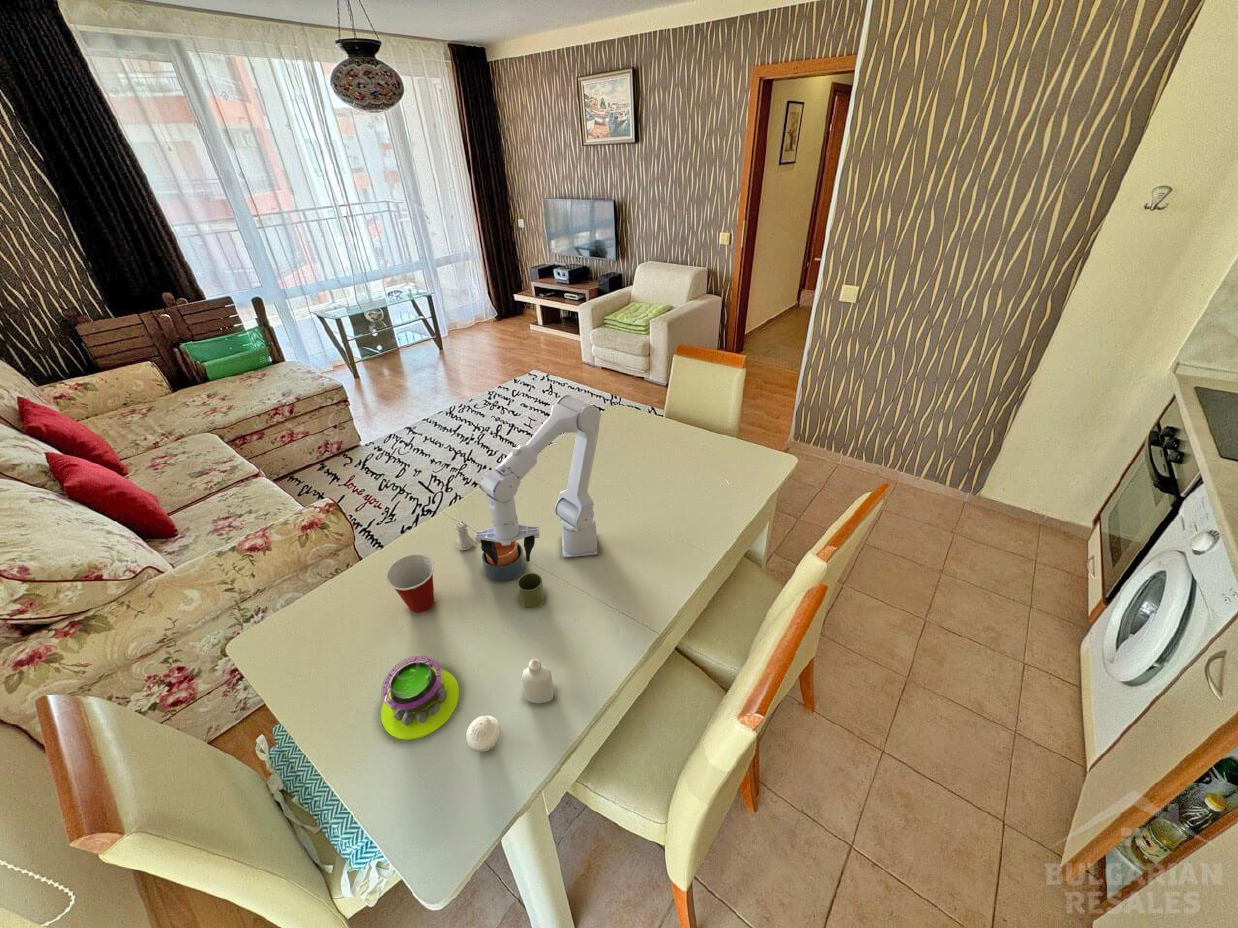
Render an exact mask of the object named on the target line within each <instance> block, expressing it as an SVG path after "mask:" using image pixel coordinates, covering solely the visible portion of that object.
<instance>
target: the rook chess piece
mask: <svg viewBox="0 0 1238 928" xmlns="http://www.w3.org/2000/svg"><path fill="white" fill-rule="evenodd" d="M454 529H455V530H456V533H457V535H458V538H457V541H456V544H457V548H458V549H459V550H461V551H468V550H470V549H472V548H473V546H474V544H475V543H474V540H473V538H472V537H471V536H470V535H469V533H468V524H467V523H466V522H465V521H463V520H460V521H457V523H455V526H454Z"/></svg>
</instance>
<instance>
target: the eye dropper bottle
mask: <svg viewBox="0 0 1238 928" xmlns="http://www.w3.org/2000/svg"><path fill="white" fill-rule="evenodd" d="M521 682H522V686H523V691H524V696H525V697H524V698H525V700H526V701H527V702H530V703H533V704H545V703H549V702H551V701H552V700H553V699H554V695H555V693H554V692H555V690H554V689H555V688H554V682H553V676H552V671H551V669H550V668H548V667H545V666H543V665H542V662H541V661H540V659H538V658H535V657H534V658H532V659H531V660H530V661H529V662H528V665H527V668H525V669H524V670H523V671H522V675H521Z"/></svg>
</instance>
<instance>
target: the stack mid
mask: <svg viewBox="0 0 1238 928" xmlns="http://www.w3.org/2000/svg"><path fill="white" fill-rule="evenodd" d="M517 543H518V541H517V540H516V541H513V542H511V544H510V545H506V546H503V545H502V543H500V542H495V547H496V551H497V554H498V564H497V565H495V564H494V562H493V561H492V559H491V558H490V557H489V556H488V555H487V554H486V553H485V554H486V558H487V562H488V564H489V565H491V566H495V567H501V566H506V565H509V564H511V563H513V562H515V561H516V560H517V559H518V558H519V551H518V545H517Z"/></svg>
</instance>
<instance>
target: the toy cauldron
mask: <svg viewBox="0 0 1238 928" xmlns="http://www.w3.org/2000/svg"><path fill="white" fill-rule="evenodd" d="M390 680H391V682H390ZM388 688H389V689H388ZM380 689H382V692H380V697H381V699H382V701H383V702H382V703H383V704H382V706H381V711H380V717H381V718H380V719H381V724H382V726H383V729H384V730H385V731H386V732H387V734H389V735H390V736H392V737H393V738H396V739H398V740H403V741H404V740H405V741H409V740H417V739H421V738H425V737H426V736H429V735H430V734H432V733H434V732H435V731H437V730H438V729H440V728H441V727H442V726H443V725H444V724H445V723H446V722H447V721H448V720H449V719H450V718H451V716H452V715H453V713H454V711H455V710H456V707H457V705H458V703H459V699H460V698H459V697H460V688H459V684H458V682H457V680H456V677H455V676H454V675H452V673H450V672H449V671H447V670H446V669H443V667H442V664H441V663H440V662H439V660H438V659H435V657H432V656H430V655H425V654H424V655H422V654H420V655H415V656H410V657H406V658H404V659H402V660H401V661H399V662H398V663H396V664H395V665H394V666H393V667H392V669H391V670H390V672H388V673H387V674H386V676H385V677H384V679H383V681H382V684H381V687H380Z"/></svg>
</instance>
